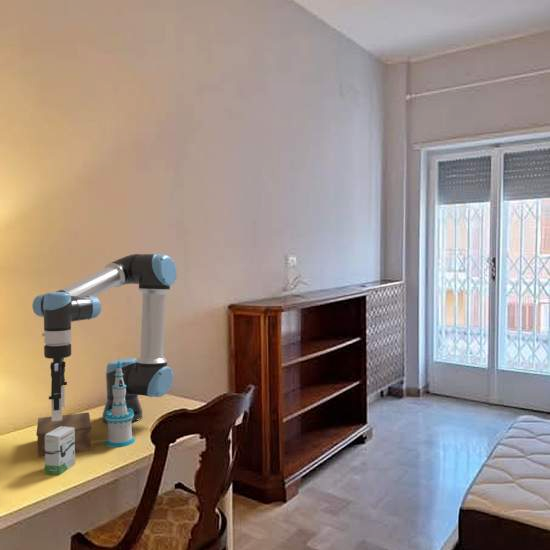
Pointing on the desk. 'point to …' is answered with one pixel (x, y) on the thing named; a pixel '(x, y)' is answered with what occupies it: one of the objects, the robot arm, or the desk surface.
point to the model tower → (119, 415)
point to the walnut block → (73, 420)
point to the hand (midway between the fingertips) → (58, 413)
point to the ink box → (59, 450)
